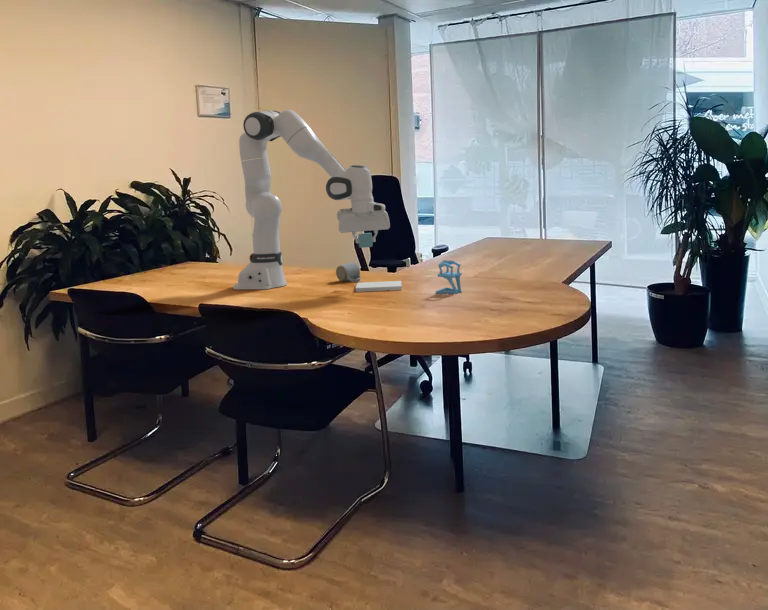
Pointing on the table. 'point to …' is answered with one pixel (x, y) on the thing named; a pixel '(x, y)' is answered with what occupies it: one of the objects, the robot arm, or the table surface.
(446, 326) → the table surface
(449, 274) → the chair
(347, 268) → the ceramic mug
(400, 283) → the grey board
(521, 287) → the table surface
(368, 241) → the teal block
